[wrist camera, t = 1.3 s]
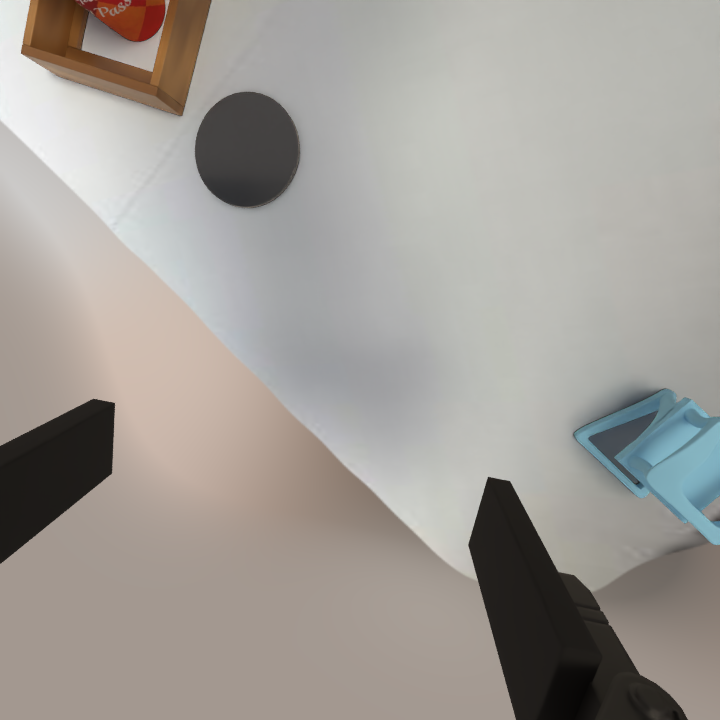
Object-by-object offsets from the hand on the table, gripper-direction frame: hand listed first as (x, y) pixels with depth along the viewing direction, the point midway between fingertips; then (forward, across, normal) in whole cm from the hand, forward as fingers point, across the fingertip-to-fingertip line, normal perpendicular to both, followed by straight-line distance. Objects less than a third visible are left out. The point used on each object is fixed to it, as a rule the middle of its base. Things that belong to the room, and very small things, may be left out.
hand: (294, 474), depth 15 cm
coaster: (+29, -13, +14) cm, 35 cm away
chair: (+23, +26, -3) cm, 35 cm away
